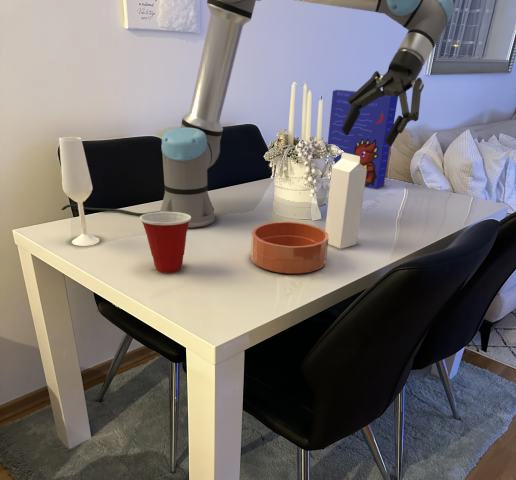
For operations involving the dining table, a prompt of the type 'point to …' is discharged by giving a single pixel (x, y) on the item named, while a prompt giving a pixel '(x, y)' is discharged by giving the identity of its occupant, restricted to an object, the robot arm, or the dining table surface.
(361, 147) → the cereal box
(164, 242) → the plastic cup
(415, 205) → the dining table surface
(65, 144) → the champagne flute
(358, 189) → the milk
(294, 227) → the bowl
